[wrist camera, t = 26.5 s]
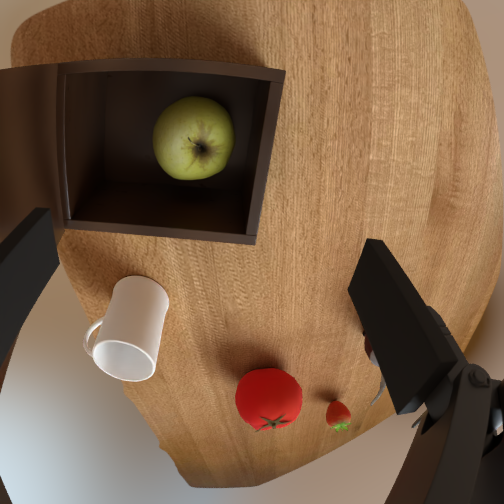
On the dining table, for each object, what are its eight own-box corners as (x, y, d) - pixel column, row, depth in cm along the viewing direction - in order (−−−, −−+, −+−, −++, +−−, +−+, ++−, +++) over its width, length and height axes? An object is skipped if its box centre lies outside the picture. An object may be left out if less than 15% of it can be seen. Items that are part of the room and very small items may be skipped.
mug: (105, 321, 47) (85, 381, 37) (86, 279, 43) (57, 338, 33) (175, 317, 48) (165, 382, 37) (161, 272, 43) (144, 337, 33)
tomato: (223, 382, 57) (223, 434, 48) (253, 348, 52) (259, 405, 43) (276, 396, 61) (283, 444, 52) (310, 365, 56) (322, 416, 47)
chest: (269, 69, 30) (286, 70, 21) (248, 196, 38) (255, 245, 29) (103, 60, 28) (56, 63, 19) (100, 185, 36) (62, 228, 26)
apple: (135, 134, 31) (131, 136, 22) (194, 87, 31) (213, 71, 22) (182, 188, 35) (195, 210, 26) (238, 142, 35) (270, 148, 26)
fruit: (318, 406, 65) (325, 437, 58) (328, 394, 62) (336, 425, 56) (339, 406, 66) (347, 436, 59) (350, 394, 63) (359, 424, 57)
